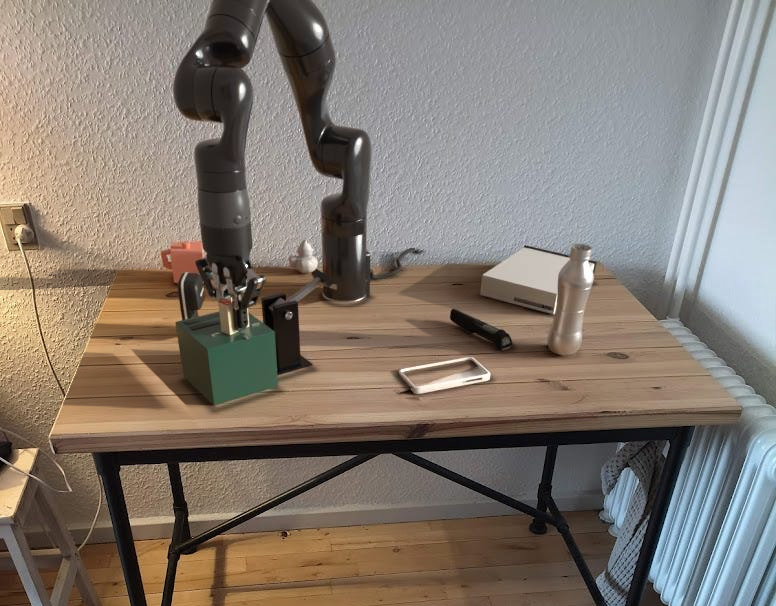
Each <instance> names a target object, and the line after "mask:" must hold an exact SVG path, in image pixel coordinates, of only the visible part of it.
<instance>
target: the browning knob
mask: <svg viewBox="0 0 776 606" xmlns="http://www.w3.org/2000/svg"><path fill="white" fill-rule="evenodd" d="M239 300H241V295H239ZM217 303H218V302H217ZM233 309H234V308H233V304H232V298H228V299H226V300H225V299H223V300H221V301H220V302H219V303H218V312H219V313H220V322H221V331H222V332H223V333H226V334H228V335H232V334H234V333H236V332H238V331H237V330H235V328H234V317H233ZM248 312H249V308H247V313H248ZM247 327H249V316H248V326H247ZM247 327H246V328H247Z"/></svg>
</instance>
